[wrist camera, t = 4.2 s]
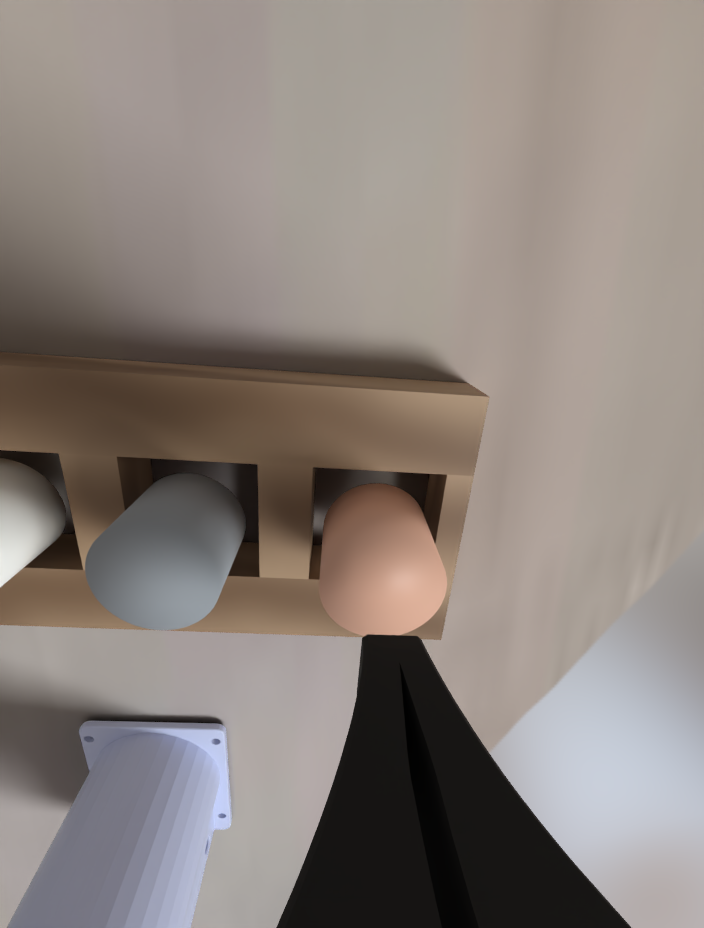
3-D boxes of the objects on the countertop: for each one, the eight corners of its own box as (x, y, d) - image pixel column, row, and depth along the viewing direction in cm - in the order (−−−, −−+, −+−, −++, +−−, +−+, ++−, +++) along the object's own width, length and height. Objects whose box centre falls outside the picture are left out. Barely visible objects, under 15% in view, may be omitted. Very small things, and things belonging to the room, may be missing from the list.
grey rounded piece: (246, 566, 16) (223, 632, 13) (145, 562, 16) (96, 628, 13) (244, 475, 15) (217, 524, 12) (132, 470, 15) (73, 518, 11)
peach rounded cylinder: (418, 573, 17) (436, 639, 13) (321, 569, 16) (316, 635, 13) (432, 486, 15) (457, 536, 12) (325, 480, 15) (321, 529, 12)
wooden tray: (429, 601, 20) (440, 639, 18) (-4, 584, 19) (-52, 622, 17) (468, 383, 16) (489, 396, 14) (-80, 346, 15) (-155, 354, 13)
